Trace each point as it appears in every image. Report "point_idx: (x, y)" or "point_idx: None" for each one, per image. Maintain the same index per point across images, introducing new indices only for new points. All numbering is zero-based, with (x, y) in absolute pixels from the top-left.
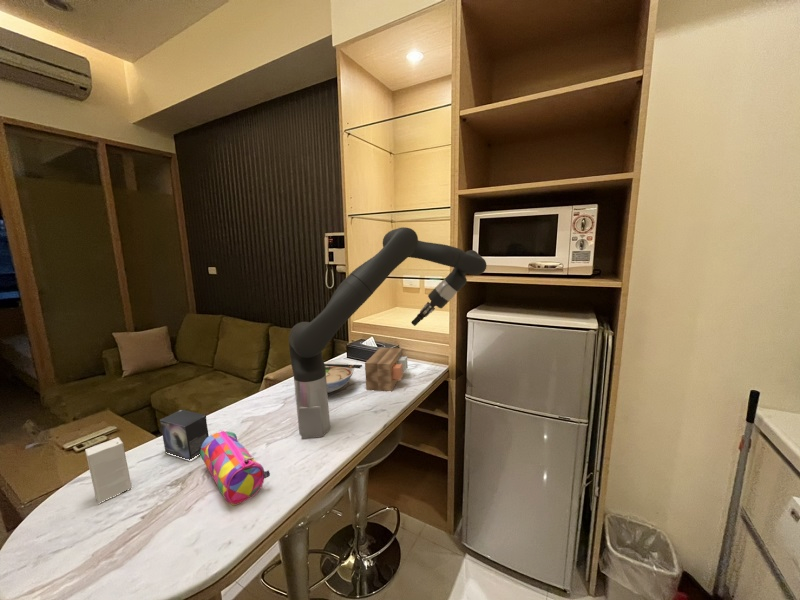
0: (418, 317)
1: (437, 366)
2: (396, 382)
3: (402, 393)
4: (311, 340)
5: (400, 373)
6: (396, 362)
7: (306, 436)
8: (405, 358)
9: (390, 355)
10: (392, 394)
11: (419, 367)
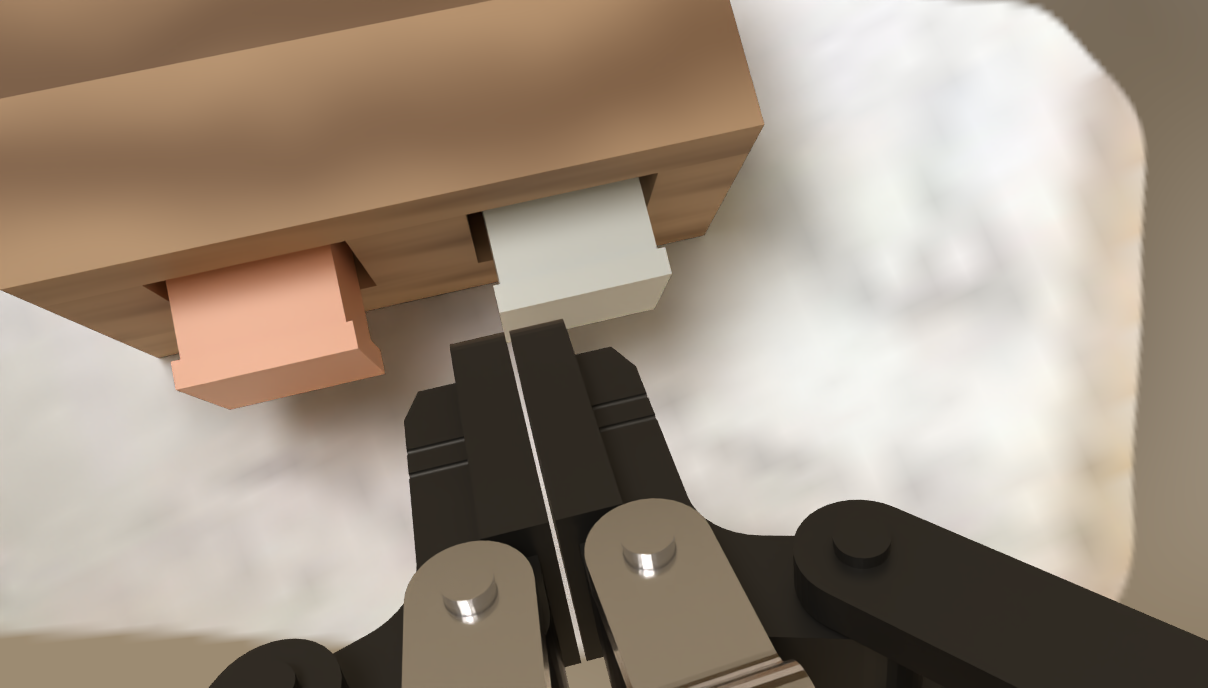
0: (400, 643)
1: (1049, 556)
2: (391, 304)
3: (161, 491)
4: None
5: (237, 393)
6: (401, 234)
7: None
8: (574, 292)
9: (375, 115)
10: (103, 401)
11: (925, 355)
